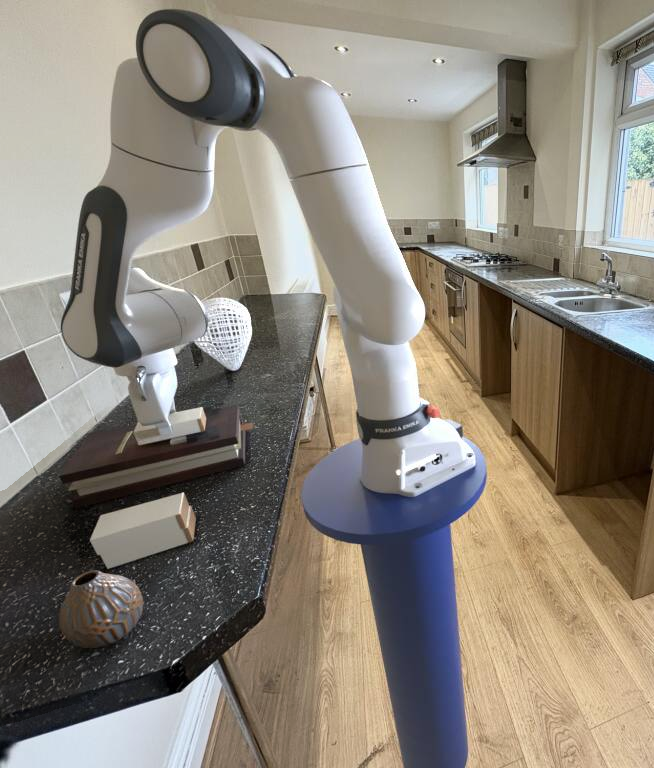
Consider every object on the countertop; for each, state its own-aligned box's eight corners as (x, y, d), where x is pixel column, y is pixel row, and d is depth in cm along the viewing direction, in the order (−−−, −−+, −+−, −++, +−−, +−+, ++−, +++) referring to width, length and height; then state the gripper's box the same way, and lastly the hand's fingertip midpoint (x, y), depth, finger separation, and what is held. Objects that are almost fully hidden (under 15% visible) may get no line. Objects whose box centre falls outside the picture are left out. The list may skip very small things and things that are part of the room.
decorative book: (73, 429, 81) (248, 396, 95) (89, 461, 84) (256, 425, 98) (33, 480, 66) (249, 432, 80) (54, 517, 69) (258, 464, 83)
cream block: (206, 418, 85) (202, 406, 84) (204, 431, 80) (200, 418, 79) (144, 431, 80) (138, 419, 79) (138, 445, 75) (133, 432, 74)
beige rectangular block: (196, 518, 68) (185, 491, 66) (193, 541, 64) (182, 513, 61) (114, 543, 63) (100, 514, 61) (105, 570, 58) (89, 540, 56)
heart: (264, 379, 126) (245, 307, 117) (203, 390, 118) (178, 314, 109) (260, 354, 147) (244, 292, 139) (208, 362, 140) (188, 297, 131)
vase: (80, 626, 51) (48, 573, 47) (151, 596, 54) (127, 546, 51) (69, 671, 46) (33, 617, 42) (149, 635, 49) (122, 582, 46)
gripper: (158, 373, 68) (185, 445, 73) (172, 342, 84) (193, 403, 89) (108, 381, 65) (139, 455, 70) (132, 347, 81) (156, 410, 86)
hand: (169, 426), depth 80 cm, fingers closed on cream block, 6 cm apart
